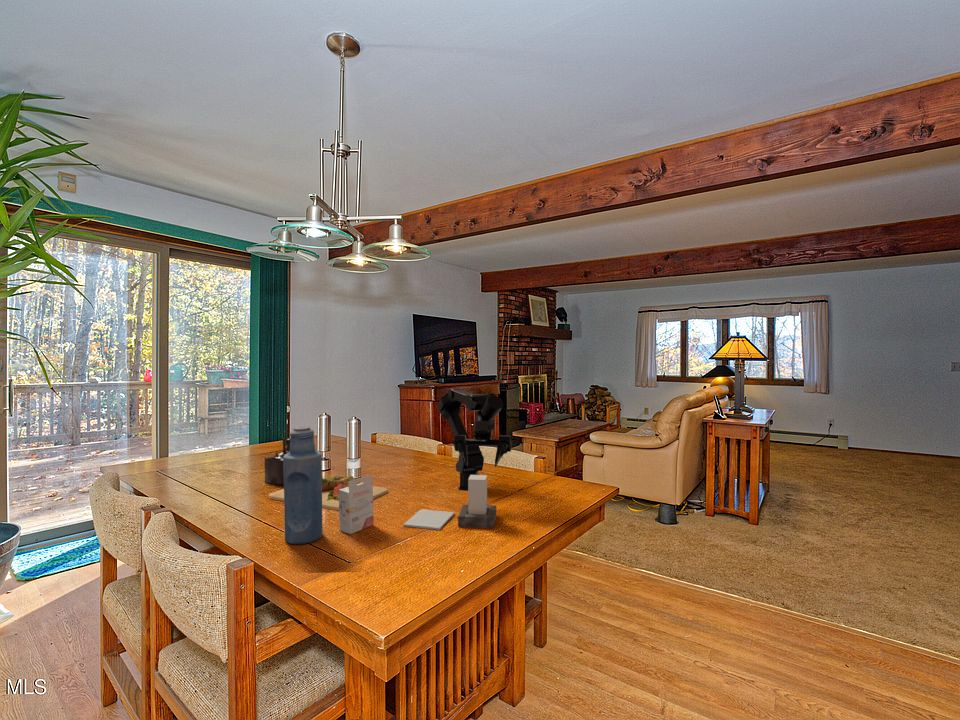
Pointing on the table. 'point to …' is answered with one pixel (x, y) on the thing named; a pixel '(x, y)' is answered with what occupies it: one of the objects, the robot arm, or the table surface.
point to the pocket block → (477, 518)
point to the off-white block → (477, 494)
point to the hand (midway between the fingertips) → (480, 465)
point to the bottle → (302, 488)
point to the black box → (276, 465)
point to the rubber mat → (429, 519)
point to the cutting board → (332, 491)
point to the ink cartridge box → (356, 505)
